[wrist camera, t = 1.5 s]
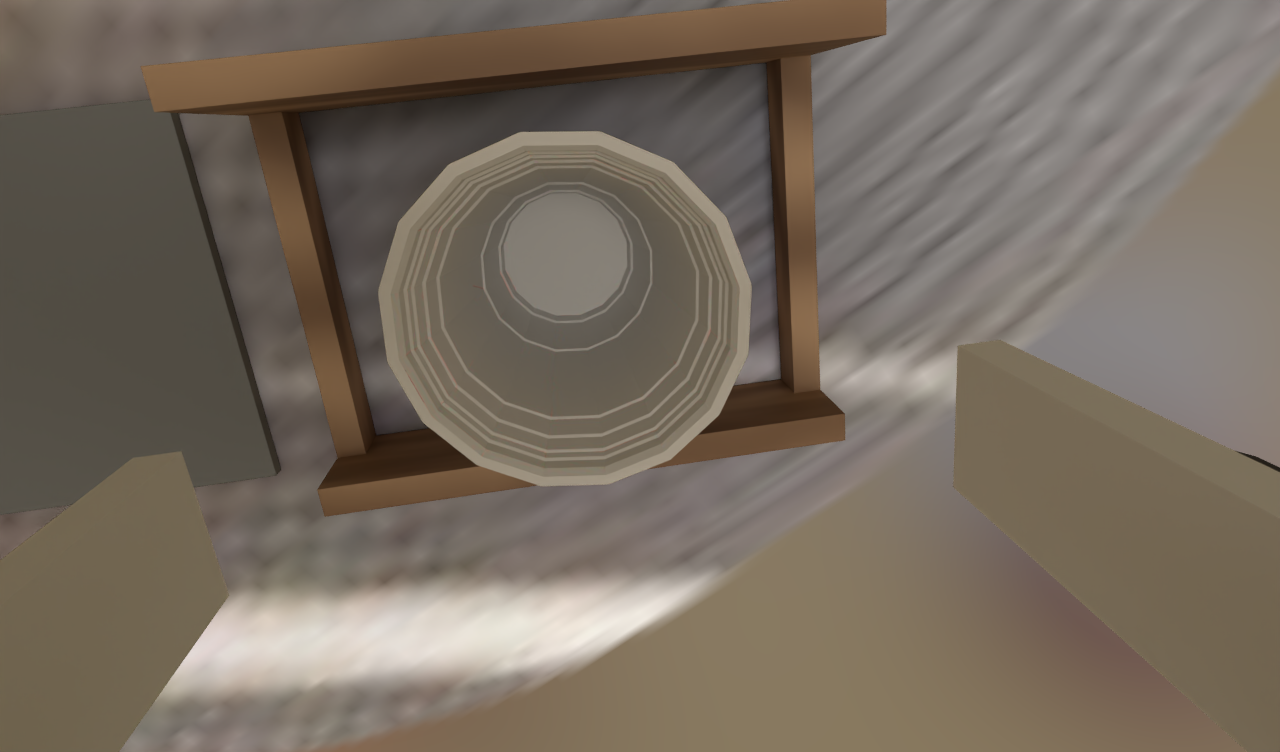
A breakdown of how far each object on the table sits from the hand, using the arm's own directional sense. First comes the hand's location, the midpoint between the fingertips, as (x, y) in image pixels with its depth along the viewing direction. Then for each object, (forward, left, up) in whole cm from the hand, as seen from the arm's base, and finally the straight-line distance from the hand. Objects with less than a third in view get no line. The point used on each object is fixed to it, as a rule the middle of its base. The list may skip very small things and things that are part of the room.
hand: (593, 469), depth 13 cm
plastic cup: (0, 0, -21) cm, 21 cm away
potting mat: (0, -22, -21) cm, 31 cm away
